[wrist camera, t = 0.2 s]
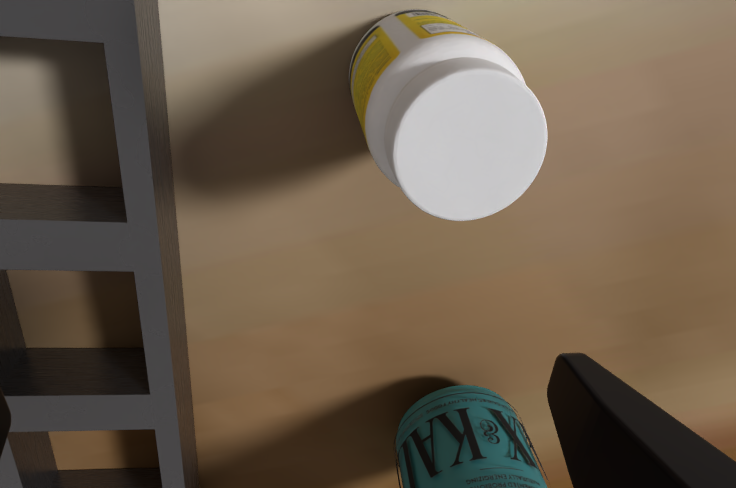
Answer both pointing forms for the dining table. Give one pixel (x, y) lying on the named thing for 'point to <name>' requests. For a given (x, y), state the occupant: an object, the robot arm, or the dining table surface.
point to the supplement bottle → (446, 115)
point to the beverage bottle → (465, 443)
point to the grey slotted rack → (101, 269)
